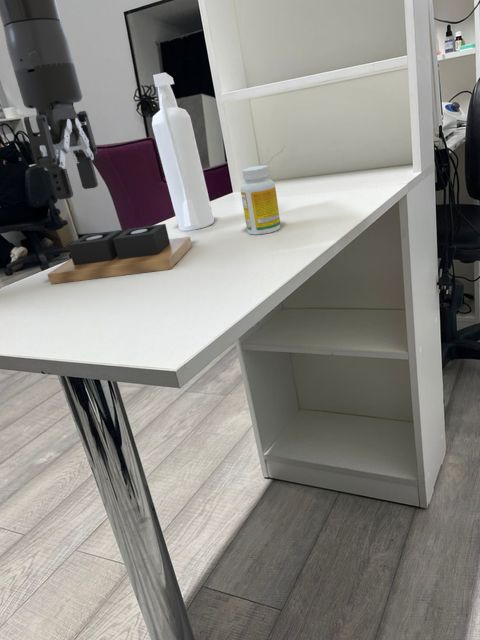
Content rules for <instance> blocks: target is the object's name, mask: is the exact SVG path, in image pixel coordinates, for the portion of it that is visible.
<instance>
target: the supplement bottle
mask: <svg viewBox="0 0 480 640" xmlns="http://www.w3.org/2000/svg"><path fill="white" fill-rule="evenodd" d="M241 173H242V179H243V180H244V183H243V184H241V187H240V196H241V202H242V207H243V213H244V220H245V226H246V230H247V233H248V234H250V235H255V236H256V235H265V234H270V233H275V232H277V231H278V230H280V228H281V219H280V218H281V217H280V211H279V203H278V197H277V196H278V195H277V190H276V184H275V181H274V180H273V179H271V178H269V175H270V171H269V166H268V165H255V166H250V167H246V168H243V169H242V170H241Z"/></svg>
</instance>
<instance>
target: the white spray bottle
mask: <svg viewBox="0 0 480 640" xmlns="http://www.w3.org/2000/svg"><path fill="white" fill-rule="evenodd" d="M152 77H153V83H154V87H155V88H157V94H158V95H157V96H158V105H159V110H158V111H157V112H156V113H155V114H154V115H153V116H152V119H151V120H152V121H151V127H152V131H153V135H154V139H155V141H156V142H155V143H156V147H157V151H158V154H159V157H160V158H159V159H160V162H161V165H162V169H163V173H164V176H165V177H164V178H165V181H166V184H167V188H168V192H169V196H170V199H171V203H172V207H173V211H174V216H175V219H176V222H177V223H176V224H177V226H178V230H179V231H183V232H186V231H195V230H199V229H203V228H206V227H209V226H210V225H213V224H214V222H215V218H214V214H213V210H212V206H211V202H210V197H209V193H208V187H207V184H206V179H205V174H204V171H203V166H202V162H201V158H200V153H199V148H198V145H197V141H196V136H195V131H194V128H193V123H192V119H191V116H190V114H189V113H188V111H187V110H186V109H185V108H182V107H179V106H178V102H177V99H176V97H175V94H174V91H173V88H172V86H171V85H175V82H174V78H173V77H172V76H171V75H170V74H168V73H167V72H161V73H156V74H153V75H152Z"/></svg>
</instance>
